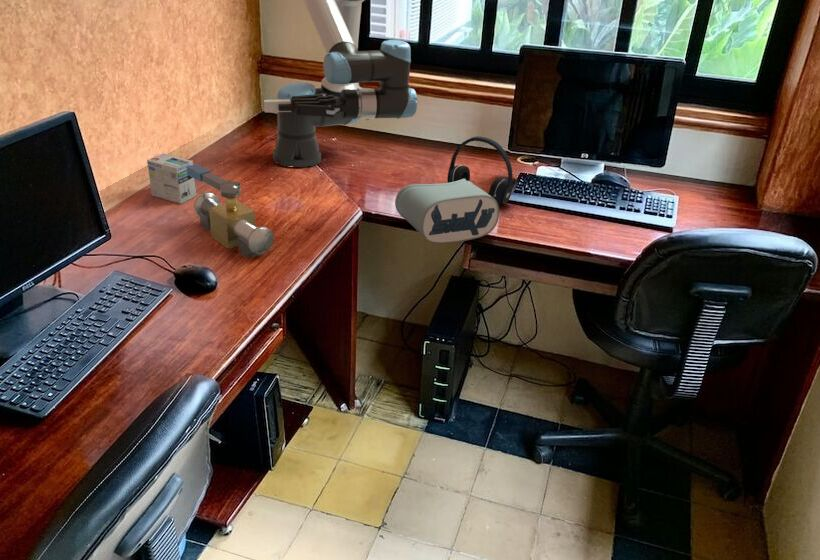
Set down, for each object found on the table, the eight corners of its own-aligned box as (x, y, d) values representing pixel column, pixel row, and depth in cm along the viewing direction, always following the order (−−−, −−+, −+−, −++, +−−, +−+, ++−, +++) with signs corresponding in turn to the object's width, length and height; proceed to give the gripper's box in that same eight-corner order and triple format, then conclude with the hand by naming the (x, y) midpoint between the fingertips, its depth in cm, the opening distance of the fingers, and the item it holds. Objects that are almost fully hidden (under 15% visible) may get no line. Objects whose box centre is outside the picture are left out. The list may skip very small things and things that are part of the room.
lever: (244, 194, 180) (244, 185, 178) (228, 199, 177) (227, 190, 175) (200, 171, 190) (199, 162, 189) (184, 175, 187) (183, 167, 186)
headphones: (513, 203, 215) (521, 144, 206) (501, 211, 210) (509, 150, 201) (455, 184, 224) (461, 127, 215) (443, 191, 219) (448, 132, 210)
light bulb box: (197, 196, 206) (193, 160, 200) (181, 204, 201) (177, 167, 195) (167, 187, 209) (162, 152, 204) (150, 196, 204) (145, 159, 199)
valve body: (193, 224, 191) (189, 181, 185) (220, 216, 196) (217, 174, 190) (248, 262, 175) (246, 217, 169) (276, 253, 180) (274, 208, 174)
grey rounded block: (421, 249, 186) (423, 202, 180) (392, 220, 202) (394, 176, 196) (496, 237, 195) (501, 192, 189) (464, 211, 210) (467, 168, 204)
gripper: (361, 126, 186) (267, 129, 180) (351, 110, 197) (262, 112, 191) (362, 97, 182) (266, 99, 176) (352, 82, 193) (261, 83, 187)
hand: (264, 106), depth 183 cm, fingers closed
